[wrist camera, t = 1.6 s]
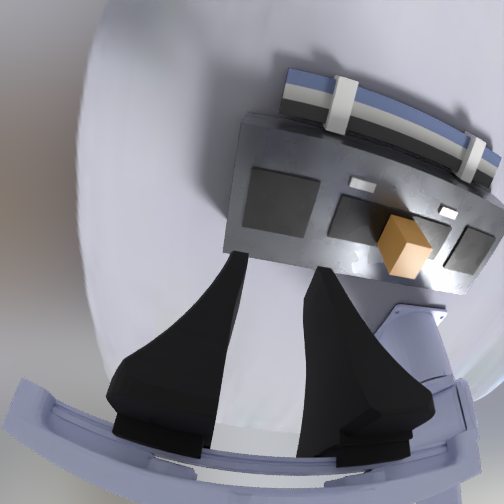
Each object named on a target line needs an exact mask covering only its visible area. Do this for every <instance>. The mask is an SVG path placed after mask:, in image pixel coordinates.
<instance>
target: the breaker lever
mask: <svg viewBox="0 0 504 504" xmlns="http://www.w3.org/2000/svg"><path fill="white" fill-rule="evenodd" d="M377 245H378V248H379V250H380V253H381V255H382V258H383V260H384V263H385V265H386V268H387V270H388V273H389V275H394V276H400V277H405V278H410V279H415V278H416V276H417V275H418V273H419V272H420V270H421V268H422V267H423V265H424V264H425V262H426V260H427V259H428V257H429V255H430V254H431V252H432V250H433V248H432V247H431V245H430V243H429V242H428V240H427V239H426V237H425V235H424V234H423V232H422V231H421V229H420V228H419V226H418V225H417V223H416V222H415V221H413V220H409V219H406V218H402V217H399V216H396V215H392V214H391V215H390V218H389V220H388V222H387V224H386V226H385V228H384V231H383V233H382V235H381V237H380V239H379V241H378V243H377Z"/></svg>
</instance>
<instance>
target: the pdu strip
mask: <svg viewBox="0 0 504 504" xmlns="http://www.w3.org/2000/svg"><path fill="white" fill-rule="evenodd" d="M391 214H392V215H396V216H399V217H402V218H406V219H409V220H413V221H415V222H416V223H417V225H418V226H419V228H420V229H421V231H422V232H423V234H424V235H425V237H426V239H427V240H428V242H429V243H430V245H431V247H432V248H433V250H432V252H431V254H430V255H429V257H428V259H427V260H426V262H425V264H424V265H423V267H422V268H421V270H420V272H419V273H418V275H417V276H416V278H415V279H410V278H405V277H400V276H394V275H389V273H388V270H387V268H386V265H385V263H384V260H383V258H382V255H381V253H380V250H379V248H378V245H377V243H378V241H379V239H380V237H381V235H382V233H383V231H384V228H385V226H386V224H387V222H388V220H389V218H390V215H391ZM503 235H504V205H503V204H502V203H501V202H500V201H499V200H498V199H497V198H496V197H495V196H494V195H493V194H491V193H489V192H487V191H486V190H484V189H482V188H480V187H478V186H476V185H474V184H472V183H468V182H466V181H463V180H461V179H460V178H459V177H458V176H456V175H454V174H452V173H449V172H447V171H445V170H443V169H441V168H438V167H436V166H434V165H431V164H429V163H427V162H424V161H422V160H419V159H417V158H414V157H412V156H409V155H407V154H404V153H401V152H399V151H396V150H393V149H390V148H388V147H385V146H382V145H379V144H376V143H373V142H370V141H367V140H364V139H360V138H357V137H354V136H350V135H347V134H345V135H342V134H338V133H335V132H331V131H327V130H325V128H322V127H318V126H314V125H309V124H305V123H301V122H296V121H292V120H287V119H282V118H277V117H272V116H267V115H261V114H256V113H250V112H248V113H247V114H246V116H245V118H244V119H243V121H242V122H241V127H240V134H239V140H238V146H237V153H236V160H235V166H234V173H233V180H232V187H231V194H230V201H229V209H228V216H227V224H226V231H225V239H224V247H223V253H229V254H230V253H231V252H232V251H240V252H245V253H249V256H248V257H250V258H256V259H261V260H267V261H273V262H278V263H284V264H289V265H295V266H300V267H306V268H311V269H317V266H322V267H328V268H332V270H333V272H334V273H340V274H345V275H351V276H357V277H362V278H368V279H374V280H379V281H385V282H391V283H397V284H403V285H408V286H414V287H420V288H426V289H432V290H437V291H443V292H449V293H455V294H461V295H464V294H465V293H466V292H467V290H468V289H469V288H470V286H471V285H472V284H473V282H474V281H475V279H476V278H477V277H478V275H479V274H480V272H481V271H482V269H483V268H484V266H485V265H486V263H487V262H488V260H489V259H490V257H491V255H492V254H493V252H494V251H495V249H496V247H497V246H498V244H499V242H500V241H501V239H502V237H503Z"/></svg>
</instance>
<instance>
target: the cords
mask: <svg viewBox="0 0 504 504" xmlns="http://www.w3.org/2000/svg"><path fill="white" fill-rule="evenodd" d="M358 83H359V82H357V81H354V80H351V79H348V78H345V77H342V76H338V75H334V79H332V78H328V77H325V76H321V75H317V74H313V73H309V72H305V71H300V70H296V69H291V68H289V69H288V73H287V78H286V83H285V88H284V93H283V98H282V102H281V107H280V113H282V114H287V115H291V116H296V117H300V118H305V119H309V120H313V121H317V122H321V123H323V124H322V125H323V127H324V128H325V130H327V131H331V132H335V133H338V134H342V135H345V131H346V130H350V131H353V132H356V133H360V134H363V135H366V136H369V137H372V138H375V139H378V140H381V141H384V142H387V143H389V144H392V145H395V146H398V147H400V148H403V149H406V150H408V151H411V152H413V153H416V154H418V155H421V156H423V157H425V158H428V159H430V160H432V161H435V162H437V163H439V164H441V165H444V166H446V167H448V168H450V169H451V171H452V172H453V173H454V174H455V175H456V176H458V177H459V178H460V179H461V180H463V181H466V182H468V183H471V181H472V180H474V181H476V182H478V183H480V184H482V185H484V186H486V187H487V188H489V187H490V185H491V182H492V180H493V178H494V175H495V173H496V171H497V168H498V166H499V163H500V161H501V157H500V156H499V155H497V154H496V153H494V152H493V151H491V150H490V149H488V148H487V147H485V146H486V143H485V142H484V141H482V140H481V139H479V138H478V137H476V136H474V135H472V134H471V133H469V132H467V131H465V133H462V132H460V131H458V130H457V129H455V128H453V127H451V126H449V125H447V124H445V123H443V122H442V121H440V120H438V119H436V118H434V117H432V116H430V115H427V114H425V113H423V112H421V111H419V110H417V109H415V108H412V107H410V106H408V105H405V104H403V103H401V102H398V101H396V100H393V99H391V98H388V97H386V96H383V95H381V94H378V93H375V92H372V91H370V90H367V89H364V88H361V87H358Z"/></svg>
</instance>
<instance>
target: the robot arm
mask: <svg viewBox="0 0 504 504" xmlns="http://www.w3.org/2000/svg"><path fill="white" fill-rule="evenodd" d="M248 256H249V253H245V252H240V251H232V252H231V253H230V256H229V258H228V260H227V262H226V263H225V265H224V267H223V268H222V270H221V271H220V273H219V274H218V276H217V277H216V278H215V280H214V281H213V283H212V284H211V285H210V287H209V288H208V289H207V290H206V291H205V293H204V294H203V295H202V296H201V297H200V298H199V300H198V301H197V302H196V303H195V304H194V305H193V306H192V307H191V308H190V309H189V310H188V311H187V312H186V313H185V314H184V315H183V316H182V317H181V318H180V319H179V320H177V321H176V322H175V323H174V324H173V325H172V326H171V327H169V328H168V329H167V330H166V331H164V332H163V333H162V334H160V335H159V336H158V337H156V338H155V339H154V340H152V341H151V342H150V343H148V344H147V345H145V346H144V347H142V348H141V349H139V350H137V351H136V352H134V353H133V354H131V355H129V356H128V357H126V358H125V359H123V361H122V362H121V364H120V365H119V367H118V368H117V370H116V372H115V374H114V376H113V378H112V380H111V383H110V386H109V388H108V392H107V395H106V398H107V400H108V402H109V403H110V405H111V406H112V407H113V408H114V409H115V411H116V412H117V416H116V419H115V423H114V424H113V423H110V422H108V421H105V420H103V419H100V418H97V417H95V416H92V415H90V414H88V413H85V412H83V411H80V410H78V409H76V408H74V407H72V406H70V405H67V404H65V403H63V402H61V401H59V400H57V399H55V397H54V396H53V395H52V394H51V393H50V392H49V391H47V390H46V389H44V388H42V387H41V386H39V385H37V384H35V383H33V382H32V381H30V380H28V379H26V378H25V377H22V378H21V381H20V383H19V385H18V387H17V390H16V392H15V394H14V397H13V399H12V401H11V404H10V406H9V409H8V411H7V414H6V417H5V419H4V422H3V425H2V429H3V430H4V431H6V432H7V433H8V434H10V435H11V436H12V437H14V438H15V439H17V440H18V441H20V442H21V443H22V444H24V445H25V446H27V447H28V448H30V449H31V450H33V451H34V452H36V453H38V454H39V455H41V456H42V457H44V458H46V459H47V460H49V461H51V462H52V463H54V464H55V465H57V466H59V467H61V468H62V469H64V470H66V471H68V472H70V473H72V474H73V475H75V476H77V477H79V478H81V479H83V480H85V481H87V482H89V483H91V484H93V485H96V486H98V487H100V488H102V489H104V490H107V491H109V492H111V493H114V494H116V495H119V496H121V497H124V498H127V499H130V500H132V501H135V502H138V503H141V504H413V503H415V502H416V504H462V503H461V489H460V483H462V482H464V481H466V480H468V479H470V478H472V477H474V476H476V475H478V474H480V473H481V463H480V455H479V448H478V441H479V432H478V421H477V416H476V412H475V407H474V404H473V399H472V396H471V392H470V389H469V385H468V382H467V380H464V379H462V378H459V379H457V380H455V378H454V376H453V373H452V369H451V366H450V363H449V359H448V356H447V353H446V350H445V347H444V344H443V341H442V338H441V336H440V333H439V330H438V327H437V326H438V325H439V323H440V322H441V321H442V320H443V319H444V318H445V316H446V315H447V310H444V309H436V308H428V307H420V306H412V305H404V304H398V305H396V306H395V308H394V309H393V310H392V312H391V313H390V314H389V316H388V317H387V319H386V320H385V321H384V323H383V324H382V325H381V327H380V328H379V329H378V330H377V332H376V333H375V334H374V335H373V333H372V332H371V331H370V329H369V328H368V327H367V325H366V324H365V322H364V321H363V319H362V318H361V316H360V315H359V313H358V312H357V310H356V309H355V307H354V306H353V304H352V302H351V301H350V299H349V297H348V296H347V294H346V292H345V291H344V289H343V287H342V286H341V284H340V282H339V280H338V279H337V277H336V275H335V273H334V272H333V270H332V268H328V267H322V266H317V269H316V271H315V273H314V276H313V278H312V281H311V283H310V285H309V288H308V290H307V293H306V295H305V297H304V306H303V328H304V341H305V355H306V387H305V400H304V410H303V418H302V426H301V433H300V439H299V445H298V450H297V455H296V458H290V457H271V456H270V457H269V456H258V455H248V454H239V453H231V452H224V451H217V450H211V449H210V446H211V441H212V436H213V431H214V425H215V420H216V415H217V409H218V403H219V396H220V390H221V384H222V378H223V372H224V365H225V359H226V353H227V349H228V346H229V342H230V338H231V335H232V331H233V327H234V324H235V320H236V316H237V313H238V309H239V304H240V299H241V294H242V289H243V284H244V279H245V274H246V269H247V264H248ZM456 381H457V382H456ZM155 456H157V457H161V458H165V459H169V460H173V461H177V462H181V463H186V464H191V465H196V466H201V467H206V468H213V469H219V470H226V471H233V472H242V473H252V474H266V475H291V476H292V475H294V476H297V475H298V476H300V475H301V476H306V475H308V476H309V475H332V474H346V473H356V472H364V473H363V474H357V475H351V476H345V477H344V478H340V479H337V480H332V481H326V482H325V483H324V488H291V489H290V488H259V487H257V488H256V487H244V486H233V485H224V484H216V483H209V482H202V481H197V480H196V479H197V474H196V473H195V472H194V469H193V468H190V467H186V466H182V465H179V464H175V463H172V462H169V461H165V460H161V459H158V458H156V457H155Z"/></svg>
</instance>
